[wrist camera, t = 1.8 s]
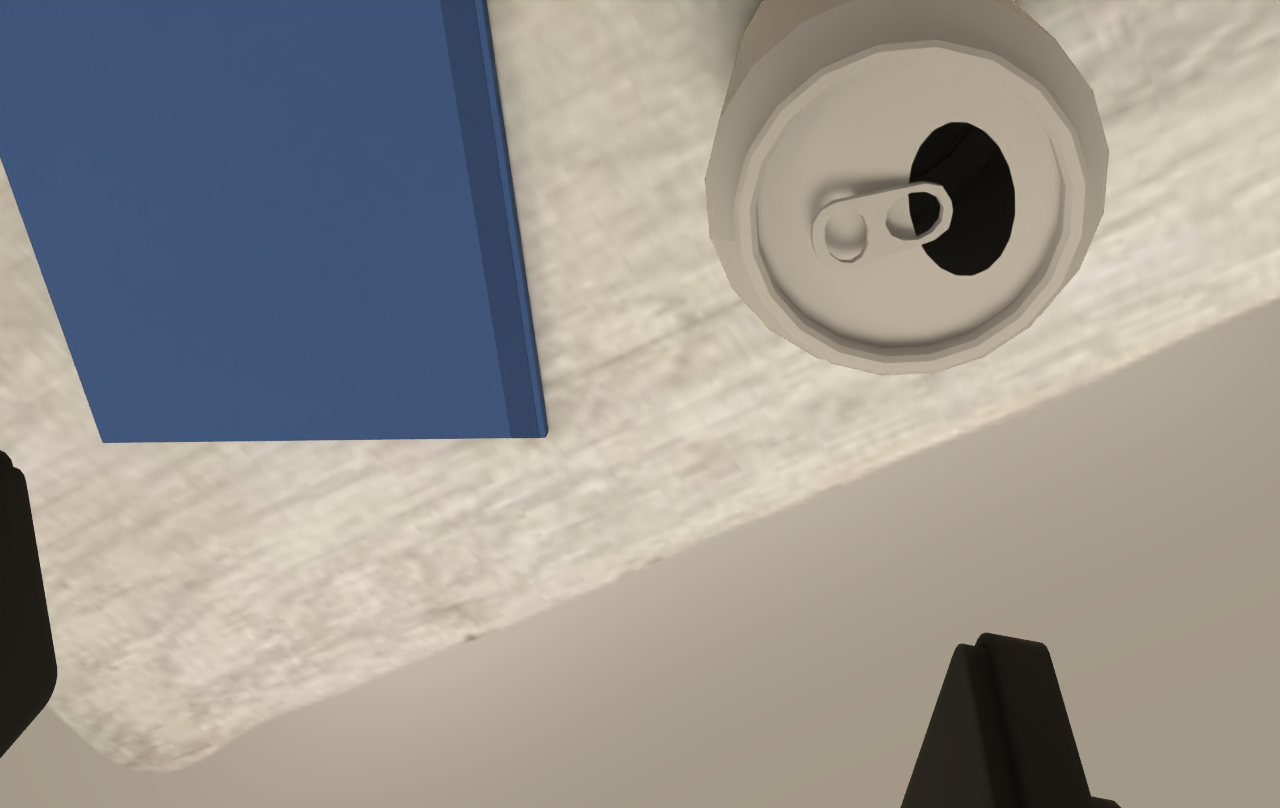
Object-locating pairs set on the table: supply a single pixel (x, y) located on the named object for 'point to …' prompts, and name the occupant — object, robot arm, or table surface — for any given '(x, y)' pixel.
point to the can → (903, 177)
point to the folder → (273, 216)
